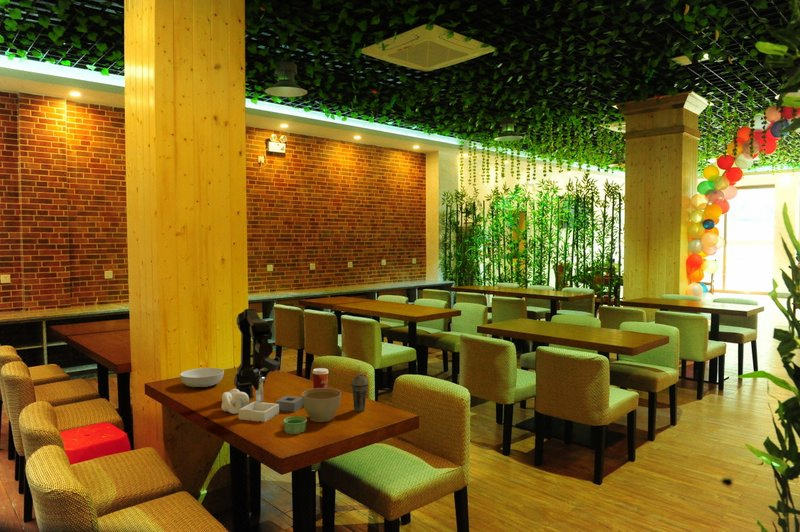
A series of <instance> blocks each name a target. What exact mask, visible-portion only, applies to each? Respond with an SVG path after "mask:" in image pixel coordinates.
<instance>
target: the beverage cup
mask: <svg viewBox="0 0 800 532" xmlns="http://www.w3.org/2000/svg"><path fill="white" fill-rule="evenodd" d="M357 367H358V368H357V369H358V374H357V375H355V376H354V377H353V379H352V381H351V389H352V398H353V399H352V402H353V410H354V412H356V411H359V412H358V413H361V412H360V411H363V412H365V408H366V401H367V400H366V398H367V389H368V387H369V386H368V385H369V382H368V380H367V378H366V376H365V375H362V374H360V373H361V371H360V365H358V366H357Z"/></svg>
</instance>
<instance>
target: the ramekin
mask: <svg viewBox="0 0 800 532" xmlns="http://www.w3.org/2000/svg"><path fill="white" fill-rule="evenodd" d="M307 421H308V419H307V417H305V416H300V415H299V416H296V415H295V416H293V415H292V416H287V417H286V418H284V419H283V427H284V428H283V429H284V432H285V433H286V434H288V433H289V435H297V434H296V433H299V434H302V433H301V432H303V433H304V432H306V430H307V429H306V428H307Z"/></svg>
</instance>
